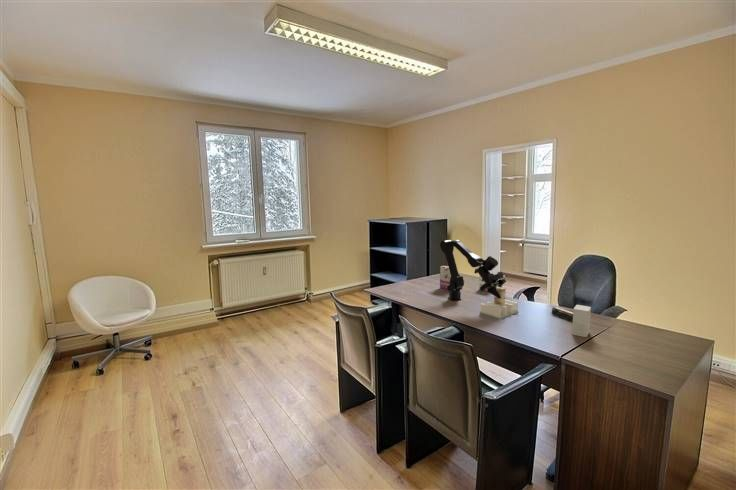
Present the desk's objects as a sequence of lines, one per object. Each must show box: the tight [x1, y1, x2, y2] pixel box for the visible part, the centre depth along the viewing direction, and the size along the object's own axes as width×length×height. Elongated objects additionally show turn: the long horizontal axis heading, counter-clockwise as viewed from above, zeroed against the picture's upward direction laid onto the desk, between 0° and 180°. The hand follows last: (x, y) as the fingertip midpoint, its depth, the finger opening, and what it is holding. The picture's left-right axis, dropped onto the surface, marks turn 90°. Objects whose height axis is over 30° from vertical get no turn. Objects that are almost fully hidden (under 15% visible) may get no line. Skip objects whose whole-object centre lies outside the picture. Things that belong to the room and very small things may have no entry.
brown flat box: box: [551, 306, 573, 322], centre depth 194 cm, size 14×25×4 cm, turn 21°
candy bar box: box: [439, 265, 451, 291], centre depth 250 cm, size 11×5×16 cm, turn 43°
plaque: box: [493, 286, 507, 306], centre depth 200 cm, size 5×3×12 cm, turn 36°
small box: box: [571, 304, 592, 338], centre depth 169 cm, size 8×6×13 cm
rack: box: [479, 298, 519, 320], centre depth 200 cm, size 13×18×6 cm
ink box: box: [478, 274, 487, 292], centre depth 247 cm, size 8×5×12 cm, turn 39°
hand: (501, 297), depth 198 cm, fingers closed on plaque, 3 cm apart
